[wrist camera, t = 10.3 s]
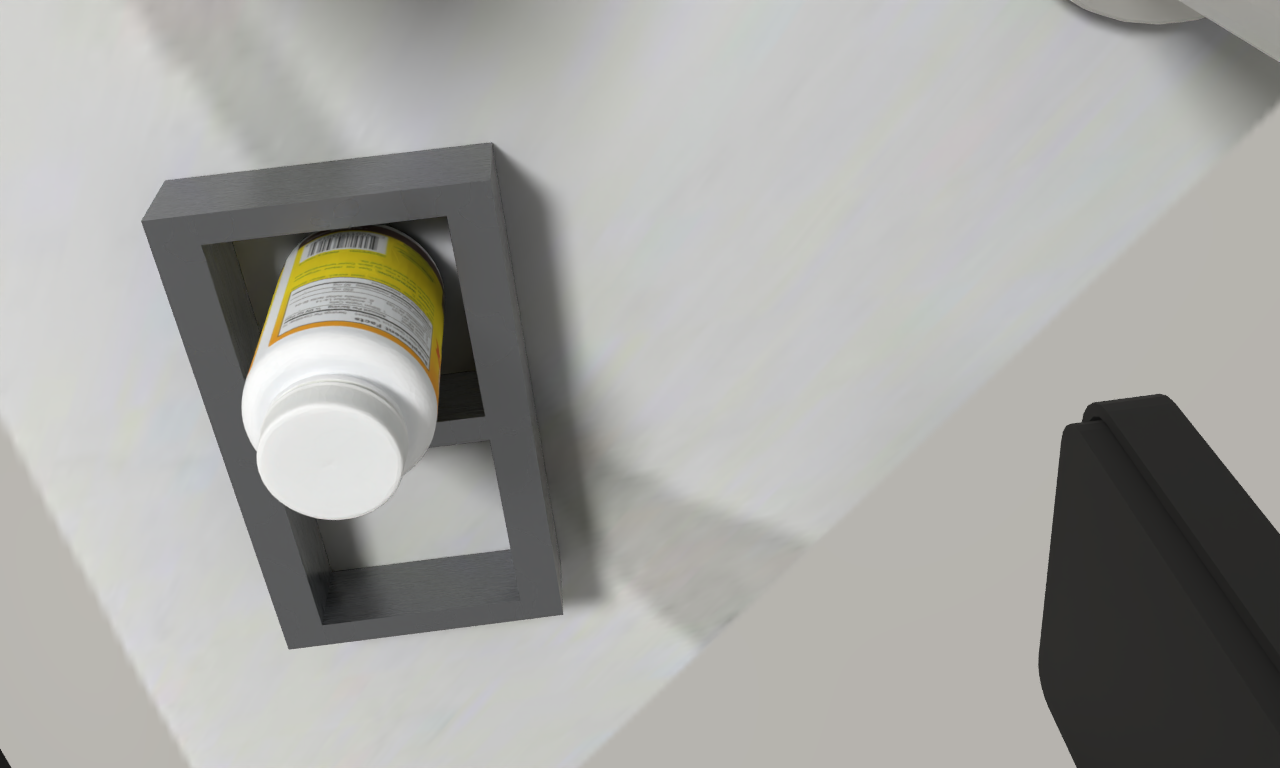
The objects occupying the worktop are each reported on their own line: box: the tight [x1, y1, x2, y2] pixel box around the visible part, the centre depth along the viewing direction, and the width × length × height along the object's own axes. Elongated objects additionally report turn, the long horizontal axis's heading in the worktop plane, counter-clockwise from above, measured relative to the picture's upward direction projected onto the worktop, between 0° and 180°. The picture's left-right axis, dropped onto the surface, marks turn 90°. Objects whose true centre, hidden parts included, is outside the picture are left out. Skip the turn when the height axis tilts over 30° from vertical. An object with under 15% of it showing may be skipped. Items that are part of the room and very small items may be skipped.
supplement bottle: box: [241, 224, 445, 520], centre depth 37 cm, size 6×6×10 cm
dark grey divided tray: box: [141, 143, 563, 649], centre depth 43 cm, size 18×10×3 cm, turn 5°
